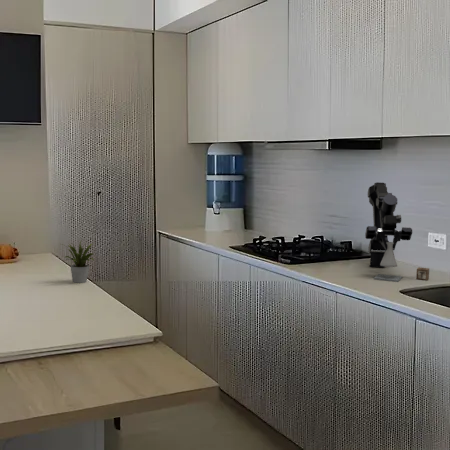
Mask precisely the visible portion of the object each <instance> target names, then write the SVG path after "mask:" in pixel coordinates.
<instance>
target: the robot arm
mask: <svg viewBox="0 0 450 450" xmlns="http://www.w3.org/2000/svg"><path fill="white" fill-rule="evenodd" d="M367 198H368V202H369V204H370V205H371V206H372V217H373V218H372V219H373V225H372V226H371V225H370V226H369V225H368V226H366V229H365V235H364V236H365V239H366V240H369V244H368V251H367V252H368V253H369V254H370V259H369V260H370V261H369V263H370V264H369V265H368V267H371V268H382V269H383V268H385V266H380V263H381V261H382V259H383V256H384V254H385V251H386V250H387V244H386V242H390V241H389V237H392V236H393V239H392V242H394V244H393V251H395V249H396V246H397V244H398V242H401V241H410V240H411V239H412V235H413V228H411V227H406V226H405V227H403V226H402V227H401V230H398V229H397V224H402V215H401V214H396V215H394V212H395V211H396V208H397V205H398V198H397V196H396V195H393V192H388V187H387V183H385V182H374V184H372V185H371V186H369V187H368V191H367ZM388 236H389V237H388Z"/></svg>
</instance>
